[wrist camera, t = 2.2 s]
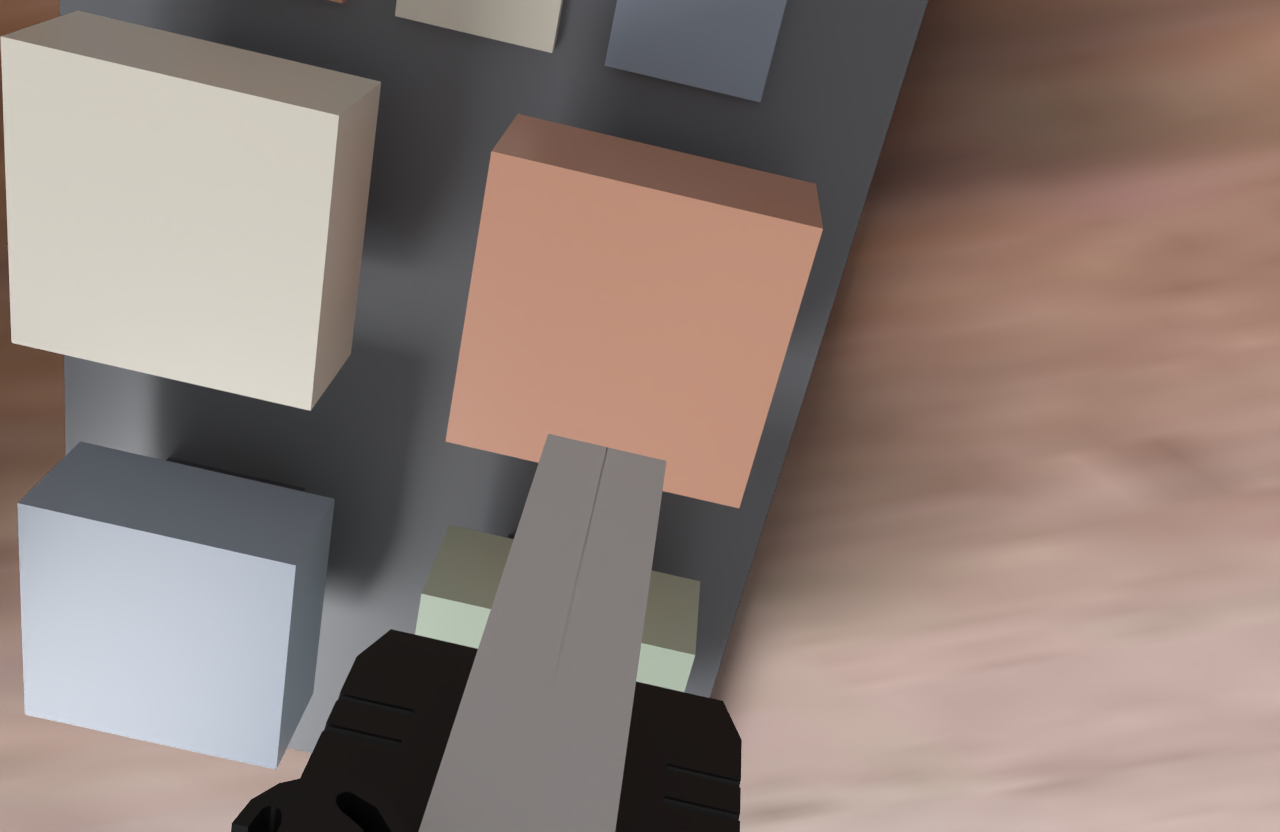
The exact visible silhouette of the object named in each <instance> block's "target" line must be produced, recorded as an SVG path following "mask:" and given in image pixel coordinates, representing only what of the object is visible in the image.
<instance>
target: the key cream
mask: <svg viewBox="0 0 1280 832" xmlns="http://www.w3.org/2000/svg"><path fill="white" fill-rule="evenodd" d="M1 62H2V90H3V118H4V146H5V174H6V201H7V229H8V257H9V285H10V313H11V341H12V343H15V344H19V345H24V346H28V347H32V348H37V349H41V350H46V351H50V352H54V353H59V354H63V355H68V356H72V357H76V358H81V359H85V360H90V361H94V362H98V363H103V364H107V365H112V366H116V367H120V368H125V369H129V370H134V371H138V372H142V373H147V374H151V375H155V376H160V377H164V378H169V379H173V380H177V381H182V382H186V383H191V384H195V385H199V386H204V387H208V388H213V389H217V390H221V391H226V392H230V393H235V394H239V395H243V396H248V397H252V398H256V399H261V400H265V401H270V402H274V403H278V404H283V405H287V406H292V407H296V408H300V409H305V410H309V411H311V410H312V408H313V407H314V405H315V404H316V403H317V401H318V400H319V398H320V397H321V396H322V394H323V393H324V391H325V390H326V388H327V387H328V386H329V384H330V383H331V381H332V380H333V379H334V377H335V376H336V374H337V373H338V371H339V370H340V369H341V367H342V366H343V364H344V363H345V362H346V360H347V359H348V357H349V356H350V354H351V349H352V340H353V331H354V322H355V313H356V304H357V295H358V286H359V277H360V268H361V259H362V250H363V241H364V232H365V223H366V214H367V205H368V196H369V187H370V178H371V169H372V160H373V151H374V142H375V133H376V124H377V115H378V106H379V97H380V88H381V82H380V81H376V80H372V79H368V78H363V77H359V76H355V75H351V74H346V73H342V72H338V71H334V70H329V69H325V68H321V67H317V66H312V65H308V64H304V63H299V62H295V61H291V60H287V59H282V58H278V57H274V56H270V55H265V54H261V53H257V52H253V51H248V50H244V49H240V48H236V47H231V46H227V45H223V44H219V43H214V42H210V41H206V40H202V39H197V38H193V37H189V36H185V35H180V34H176V33H172V32H167V31H163V30H159V29H155V28H150V27H146V26H142V25H138V24H133V23H129V22H125V21H121V20H116V19H112V18H108V17H104V16H99V15H95V14H91V13H87V12H82V11H78V10H77V11H74V12H71V13H68V14H65V15H62V16H59V17H57V18H54V19H51V20H48V21H45V22H42V23H39V24H36V25H33V26H30V27H27V28H24V29H21V30H18V31H15V32H12V33H9V34H6V35H3V36H1Z"/></svg>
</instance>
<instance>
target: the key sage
mask: <svg viewBox="0 0 1280 832" xmlns="http://www.w3.org/2000/svg"><path fill="white" fill-rule="evenodd" d="M513 540H514V539H510V538H506V537H502V536H497V535H493V534H488V533H484V532H480V531H475V530H471V529H466V528H462V527H457V526H453V525H449V528H448V530H447V533H446V535H445V537H444V540H443V542H442V545H441V547H440V550H439V552H438V554H437V557H436V559H435V562H434V564H433V567H432V569H431V572H430V574H429V576H428V579H427V581H426V584H425V586H424V589H423V591H422V593H421V599H420V606H419V612H418V618H417V625H416V631H415V635H419V636H424V637H428V638H433V639H437V640H441V641H446V642H450V643H455V644H459V645H464V646H468V647H472V648H477V649H478V647H479V644H480V641H481V638H482V635H483V632H484V629H485V626H486V623H487V620H488V617H489V614H490V611H491V608H492V604H493V601H494V598H495V595H496V592H497V589H498V586H499V583H500V580H501V577H502V574H503V571H504V568H505V565H506V562H507V558H508V555H509V552H510V549H511V546H512V543H513ZM699 593H700V581H696V580H692V579H688V578H683V577H679V576H674V575H670V574H665V573H661V572H657V571H652V570H651V577H650V584H649V591H648V599H647V606H646V613H645V620H644V627H643V635H642V642H641V649H640V656H639V664H638V671H637V678H636V681H637V682H641V683H645V684H650V685H654V686H659V687H663V688H667V689H672V690H676V691H681V692H684V691H685V688H686V685H687V681H688V678H689V675H690V671H691V668H692V665H693V661H694V658H695V653H696V638H697V623H698V608H699Z"/></svg>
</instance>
